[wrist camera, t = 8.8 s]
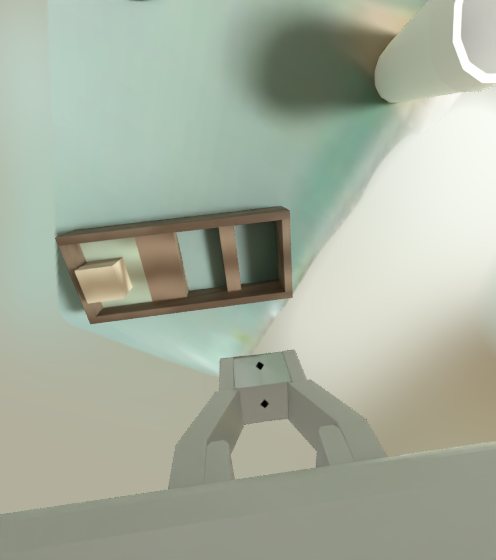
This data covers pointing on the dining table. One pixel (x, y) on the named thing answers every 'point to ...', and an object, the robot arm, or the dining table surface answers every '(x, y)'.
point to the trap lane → (174, 264)
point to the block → (104, 280)
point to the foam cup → (440, 52)
